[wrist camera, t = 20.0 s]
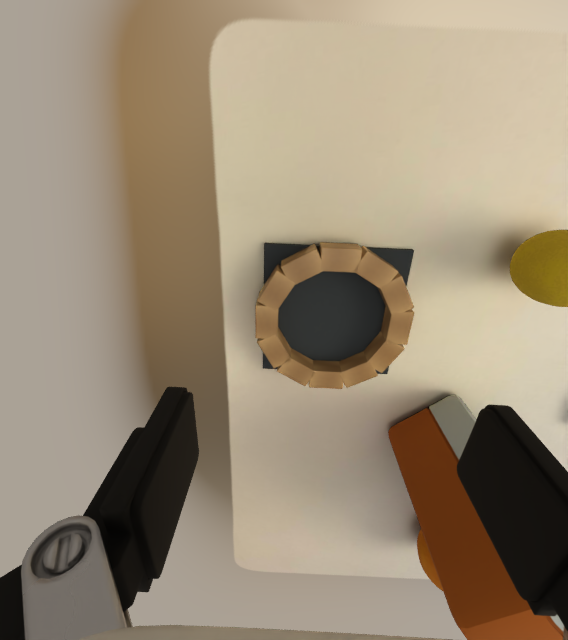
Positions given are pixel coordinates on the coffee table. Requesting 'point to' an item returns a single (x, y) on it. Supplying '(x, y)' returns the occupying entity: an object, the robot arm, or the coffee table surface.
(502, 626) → the alarm clock
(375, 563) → the coffee table surface
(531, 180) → the coffee table surface
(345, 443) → the coffee table surface
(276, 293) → the ring
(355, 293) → the mat
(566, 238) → the lemon
